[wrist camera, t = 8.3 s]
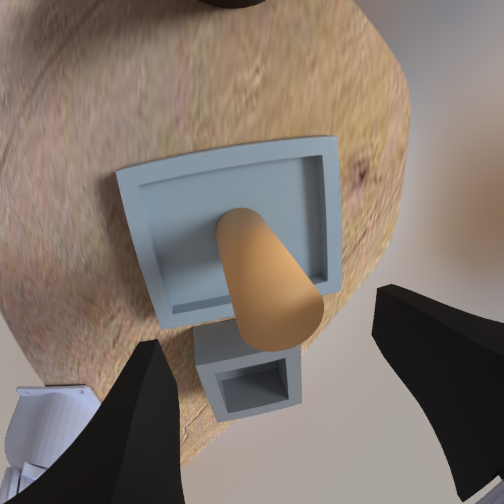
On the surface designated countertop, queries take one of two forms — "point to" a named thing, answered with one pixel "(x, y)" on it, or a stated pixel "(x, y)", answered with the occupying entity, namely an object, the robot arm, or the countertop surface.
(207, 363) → the pin cup
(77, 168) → the countertop surface
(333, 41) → the countertop surface
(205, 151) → the tray
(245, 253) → the orange pin
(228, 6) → the coffee mug
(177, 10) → the countertop surface
